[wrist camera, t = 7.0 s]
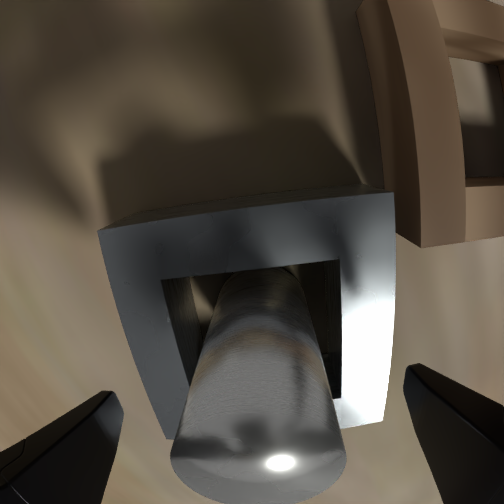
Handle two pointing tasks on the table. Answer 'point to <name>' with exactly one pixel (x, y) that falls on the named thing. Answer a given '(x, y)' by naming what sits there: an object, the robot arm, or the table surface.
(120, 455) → the table surface
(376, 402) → the block
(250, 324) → the metal cylinder peg
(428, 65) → the socket block
